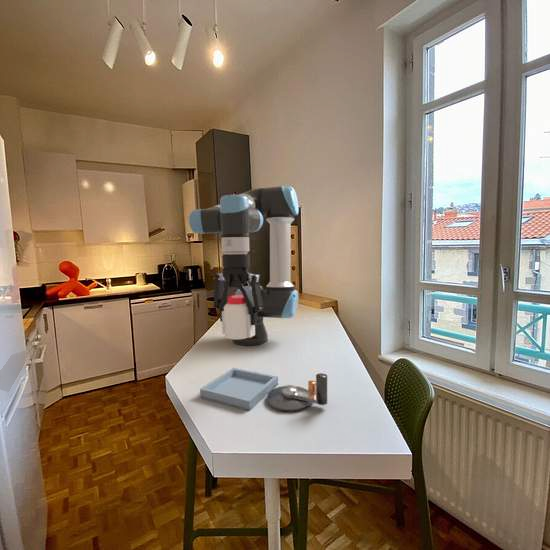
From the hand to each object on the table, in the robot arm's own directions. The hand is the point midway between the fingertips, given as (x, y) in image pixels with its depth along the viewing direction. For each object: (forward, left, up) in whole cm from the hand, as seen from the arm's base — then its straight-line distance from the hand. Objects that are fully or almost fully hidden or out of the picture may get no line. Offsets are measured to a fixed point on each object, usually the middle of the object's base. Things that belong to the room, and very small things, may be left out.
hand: (238, 334), depth 88 cm
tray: (0, 0, -17) cm, 17 cm away
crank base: (+15, +1, -17) cm, 22 cm away
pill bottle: (0, 0, 0) cm, 0 cm away
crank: (+19, +1, -15) cm, 25 cm away
